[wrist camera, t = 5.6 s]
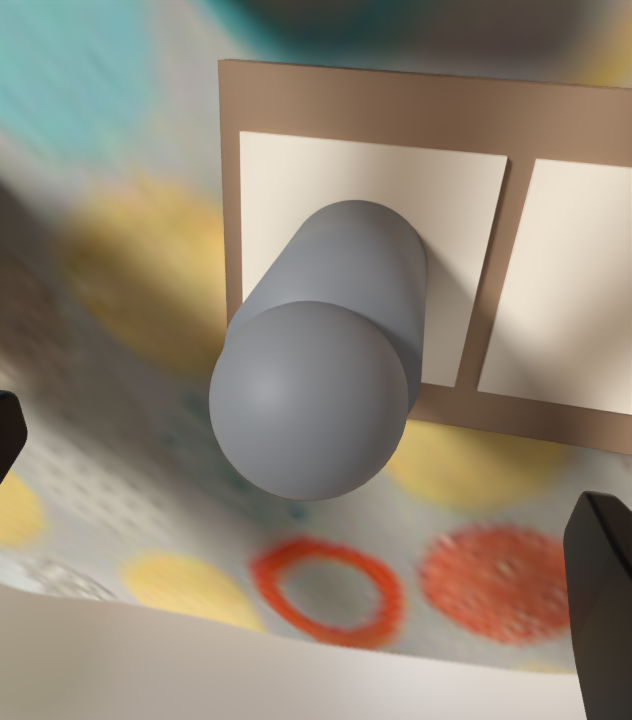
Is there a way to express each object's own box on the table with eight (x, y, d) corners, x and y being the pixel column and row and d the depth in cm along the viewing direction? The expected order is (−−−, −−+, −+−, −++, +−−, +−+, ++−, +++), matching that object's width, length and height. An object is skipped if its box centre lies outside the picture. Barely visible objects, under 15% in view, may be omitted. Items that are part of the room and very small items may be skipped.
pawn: (286, 322, 17) (174, 528, 10) (290, 192, 15) (150, 333, 8) (415, 341, 16) (396, 574, 9) (439, 208, 14) (437, 377, 7)
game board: (238, 373, 19) (227, 391, 18) (230, 58, 14) (215, 60, 13) (964, 489, 16) (999, 519, 15) (1299, 138, 11) (1386, 148, 10)
